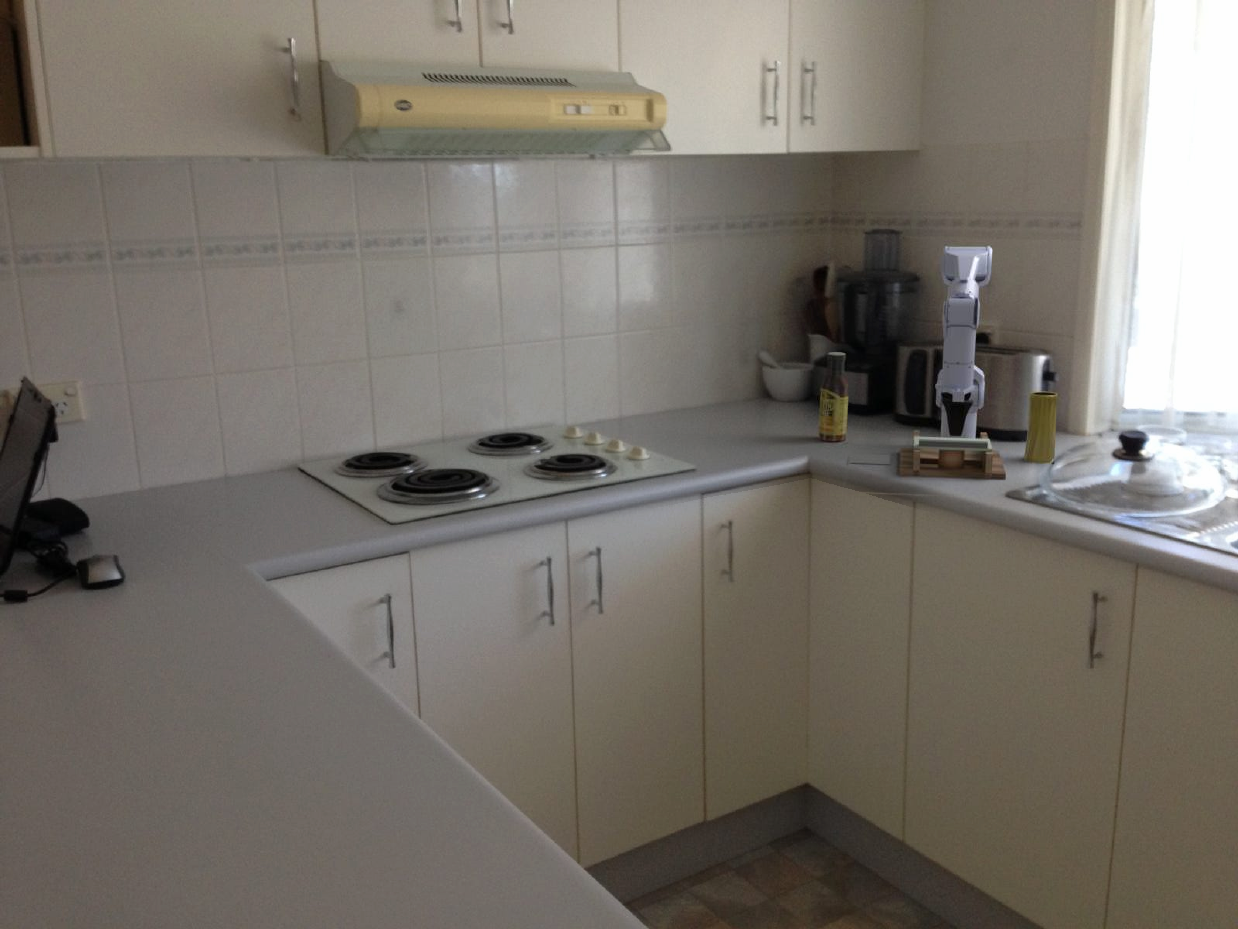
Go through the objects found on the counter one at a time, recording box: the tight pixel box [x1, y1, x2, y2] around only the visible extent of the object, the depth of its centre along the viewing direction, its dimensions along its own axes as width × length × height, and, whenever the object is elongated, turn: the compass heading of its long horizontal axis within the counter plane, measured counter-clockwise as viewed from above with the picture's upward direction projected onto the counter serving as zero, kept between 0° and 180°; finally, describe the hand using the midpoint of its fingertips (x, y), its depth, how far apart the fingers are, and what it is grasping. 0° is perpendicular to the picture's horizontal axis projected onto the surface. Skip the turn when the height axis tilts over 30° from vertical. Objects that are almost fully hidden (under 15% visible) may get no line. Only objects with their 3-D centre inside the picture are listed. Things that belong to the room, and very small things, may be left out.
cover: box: [914, 436, 993, 451], centre depth 230 cm, size 9×15×2 cm, turn 76°
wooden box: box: [898, 430, 1007, 480], centre depth 234 cm, size 20×20×5 cm
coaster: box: [849, 453, 891, 466], centre depth 240 cm, size 8×8×1 cm
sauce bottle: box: [818, 351, 849, 443], centre depth 259 cm, size 6×6×20 cm
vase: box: [1023, 390, 1058, 464], centre depth 236 cm, size 6×6×14 cm
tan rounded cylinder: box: [938, 450, 965, 469], centre depth 231 cm, size 5×5×4 cm
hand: (954, 432), depth 221 cm, fingers open, 5 cm apart
